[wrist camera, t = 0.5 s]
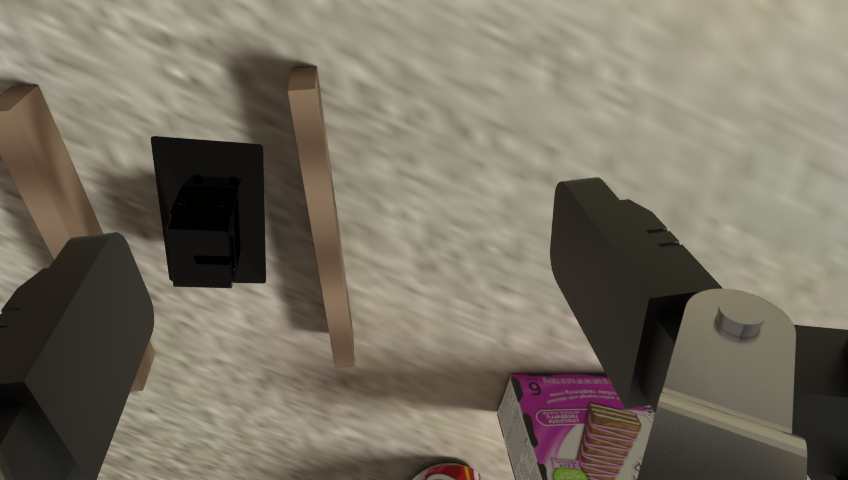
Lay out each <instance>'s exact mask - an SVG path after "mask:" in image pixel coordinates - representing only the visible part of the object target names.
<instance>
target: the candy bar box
mask: <svg viewBox="0 0 848 480" xmlns="http://www.w3.org/2000/svg"><path fill="white" fill-rule="evenodd" d="M497 416H498V420H499V424H500V427H501V431H502V434H503V438H504V441H505V445H506V448H507V452H508V456H509V459H510V463H511V466H512V470H513V474H514V477H515V480H637V477H638V473H639V470H640V466H641V463H642V459H643V455H644V452H645V448H646V445H647V441H648V438H649V434H650V430H651V427H652V423H653V420H654V416H655V413H654V411H653V409H652V408H651V406H645V407H638V408H632V409H625V408H624V406H623V404H622V402H621V400H620V398H619V396H618V395H617V393H616V391H615V389H614V387H613V385H612V384H611V382H610V380H609V378H608V376H607V374H511V375H510V377H509V379H508V381H507V385H506V389H505V392H504V395H503V398H502V400H501V403H500V405H499V409H498V411H497Z"/></svg>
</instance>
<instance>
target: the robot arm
mask: <svg viewBox="0 0 848 480" xmlns="http://www.w3.org/2000/svg"><path fill="white" fill-rule="evenodd" d="M550 259H551V266H552V271H553V274H554V277H555V280H556V282H557V284H558V286H559V288H560V289H561V291H562V293H563V295H564V297H565V299H566V301H567V302H568V304H569V306H570V308H571V310H572V312H573V313H574V315H575V317H576V319H577V321H578V323H579V325H580V326H581V328H582V330H583V332H584V334H585V336H586V337H587V339H588V341H589V343H590V345H591V347H592V348H593V350H594V352H595V354H596V356H597V358H598V360H599V361H600V363H601V365H602V367H603V369H604V371H605V372H606V374H607V376H608V378H609V380H610V382H611V384H612V385H613V387H614V389H615V391H616V393H617V395H618V396H619V398H620V400H621V402H622V404H623V406H624V408H625V409H632V408H638V407H645V406H651V408H652V409H653V411H654V413H655V416H654V420H653V423H652V427H651V430H650V434H649V438H648V441H647V445H646V448H645V452H644V455H643V459H642V463H641V466H640V470H639V473H638V477H637V480H807V475H808V476H809V478H810V479H811V480H848V330H843V329H832V328H822V327H811V326H800V325H794V324H793V322H792V321H791V320H790V318H789V317H788V316H787V315H786V314H785V313H784V312H783V311H782V310H781V309H780V308H778V307H777V306H776V305H774V304H772V303H771V302H769V301H767V300H765V299H763V298H761V297H759V296H756V295H754V294H750V293H747V292H744V291H739V290H733V289H723V288H722V287H721V286H720V285H719V284H718V283H717V281H716V280H715V279H714V278H713V277H712V276H711V275H710V274H709V273H708V272H707V271H706V270H705V269H704V267H703V266H702V265H701V264H700V263H699V262H698V261H697V260H696V259H695V258H694V257H693V256H692V254H691V253H690V252H689V251H688V250H687V249H686V248H685V247H684V246H683V245H680V244H679V240H678V239H677V238H676V237H675V236H674V235H673V234H672V233H671V232H670V231H667V228H666V226H665V225H664V224H663V223H662V222H661V221H660V220H659V219H658V218H657V217H656V216H655V215H654V213H653V212H651V211H649V210H648V209H646V208H644V207H642V206H640V205H638V204H636V203H635V202H633V201H631V200H629V199H627V200H619V199H618V198H617V196H616V195H615V194H614V193H613V192H612V191H611V189H610V188H609V187H608V186H607V185H606V184H605V183H604V181H603V180H602V179H601V178H598V177H596V178H587V179H579V180H570V181H562V182H559V183H558V184H557V186H556V190H555V197H554V209H553V221H552V233H551V245H550ZM1 311H2V314H0V480H97V477H98V474H99V472H100V469H101V466H102V464H103V461H104V459H105V456H106V453H107V451H108V448H109V445H110V443H111V440H112V437H113V435H114V432H115V430H116V427H117V424H118V422H119V419H120V416H121V414H122V411H123V409H124V406H125V403H126V401H127V398H128V395H129V393H130V390H131V387H132V385H133V382H134V380H135V377H136V374H137V372H138V369H139V366H140V364H141V361H142V359H143V356H144V353H145V351H146V348H147V345H148V343H149V340H150V338H151V335H152V332H153V327H154V310H153V305H152V301H151V298H150V296H149V293H148V291H147V289H146V286H145V284H144V281H143V279H142V277H141V274H140V272H139V269H138V267H137V265H136V262H135V260H134V257H133V255H132V253H131V250H130V248H129V245H128V243H127V241H126V240H125V238H124V237H123V236H122V235H121V234H120V233H116V232H115V233H107V234H98V235H89V236H81V237H73V238H71V239H69V240H68V241H67V243H66V244H65V246H64V247H63V248H62V250H61V251H60V253H59V254H58V256H57V257H56V258H55V260H54V261H53V263H52V264H51V266H50V267H49V268H45V269H42V270H41V271H40V272H38V273H37V274H36V275H34V276H33V277H32V278H30V279H29V280H28V281H26V282H25V283H24V284H23V285H21V286H20V287H19V288H17V289H16V291H15V292H14V294H13V295H12V296H11V298H10V299H9V300H8V302H7V303H6V304H5V306H4V307H3V308H2V310H1Z"/></svg>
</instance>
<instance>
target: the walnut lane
mask: <svg viewBox="0 0 848 480" xmlns="http://www.w3.org/2000/svg"><path fill="white" fill-rule="evenodd" d="M288 96H289V102H290V107H291V113H292V119H293V125H294V131H295V137H296V142H297V148H298V154H299V160H300V166H301V172H302V177H303V183H304V189H305V195H306V201H307V207H308V212H309V218H310V224H311V230H312V236H313V242H314V247H315V253H316V259H317V265H318V271H319V277H320V282H321V288H322V294H323V300H324V306H325V312H326V317H327V323H328V329H329V335H330V341H331V347H332V352H333V358H334V364H335V368H342V367H351V366H354V342H353V328H352V320H351V313H350V306H349V298H348V291H347V284H346V277H345V269H344V262H343V255H342V247H341V240H340V233H339V225H338V218H337V211H336V203H335V196H334V189H333V182H332V174H331V167H330V160H329V152H328V145H327V138H326V130H325V123H324V116H323V108H322V101H321V94H320V86H319V79H318V72H317V66H314V67H299V68H292V69H291V75H290V80H289V86H288ZM0 156H1V157H2V159H3V161H4V163H5V165H6V167H7V169H8V171H9V173H10V175H11V177H12V179H13V181H14V183H15V185H16V187H17V189H18V191H19V192H20V194H21V196H22V198H23V200H24V202H25V204H26V206H27V208H28V210H29V212H30V214H31V216H32V218H33V220H34V222H35V224H36V226H37V228H38V229H39V231H40V233H41V235H42V237H43V239H44V241H45V243H46V245H47V247H48V249H49V251H50V253H51V255H52V257H53V259H54V260H55V258H56V257H57V256H58V254H59V253H60V251H61V250H62V248H63V247H64V246H65V244H66V243H67V241H68V240H69V239H71V238H73V237H81V236H89V235H98V234H103V232H102V230H101V228H100V225H99V223H98V221H97V218H96V216H95V214H94V212H93V209H92V207H91V205H90V202H89V200H88V198H87V195H86V193H85V191H84V189H83V186H82V184H81V182H80V179H79V177H78V175H77V173H76V170H75V168H74V166H73V163H72V161H71V159H70V156H69V154H68V152H67V150H66V147H65V145H64V143H63V140H62V138H61V136H60V133H59V131H58V129H57V127H56V124H55V122H54V120H53V117H52V115H51V113H50V110H49V108H48V106H47V104H46V101H45V99H44V97H43V94H42V92H41V90H40V88H39V85H32V86H17V87H10V88H9V89H8V90H7V91H5V92H4V93H3V94H2V95H0ZM154 357H155V352H154V349H153V347H152V345H151V343H150V340H149V343H148V345H147V348H146V351H145V353H144V356H143V359H142V361H141V364H140V366H139V369H138V372H137V374H136V377H135V380H134V382H133V385H132V387H131V390H130V392H134V391H142V390H143V389H144V386H145V383H146V380H147V377H148V374H149V371H150V368H151V365H152V362H153V359H154Z"/></svg>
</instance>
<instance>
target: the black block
mask: <svg viewBox="0 0 848 480" xmlns="http://www.w3.org/2000/svg"><path fill="white" fill-rule="evenodd" d="M151 145H152V153H153V160H154V168H155V175H156V183H157V190H158V197H159V205H160V212H161V220H162V227H163V235H164V242H165V250H166V257H167V265H168V272H169V279H170V280H171V281H173V286H174V287H206V288H232V285H233V283H265V282H266V257H265V213H264V168H263V146H262V145H260V144H249V143H236V142H223V141H210V140H197V139H184V138H171V137H158V136H153V137H151Z"/></svg>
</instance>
